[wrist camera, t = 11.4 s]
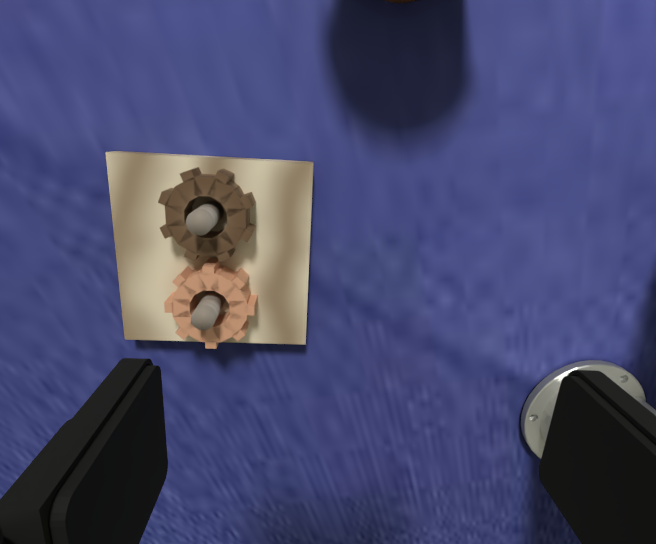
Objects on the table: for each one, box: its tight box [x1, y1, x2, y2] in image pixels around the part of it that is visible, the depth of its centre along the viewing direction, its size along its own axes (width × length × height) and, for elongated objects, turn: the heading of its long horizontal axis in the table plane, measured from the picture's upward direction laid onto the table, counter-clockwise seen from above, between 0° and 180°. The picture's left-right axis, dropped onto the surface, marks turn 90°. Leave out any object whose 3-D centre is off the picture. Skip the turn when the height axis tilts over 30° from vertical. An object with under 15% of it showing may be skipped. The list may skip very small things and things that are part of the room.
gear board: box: [106, 151, 313, 345], centre depth 34 cm, size 16×16×6 cm
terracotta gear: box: [164, 258, 258, 349], centre depth 35 cm, size 7×7×2 cm
